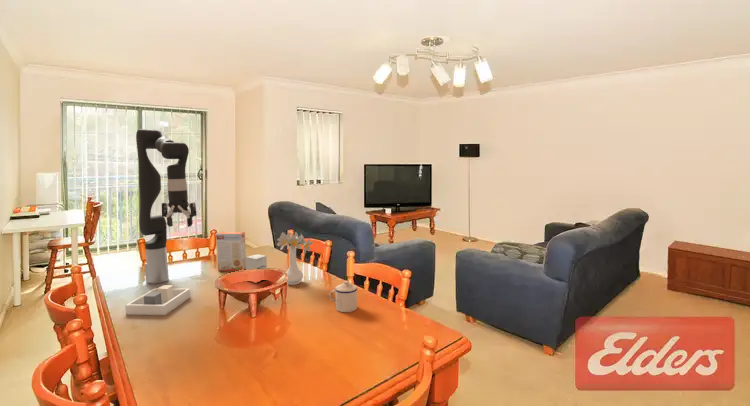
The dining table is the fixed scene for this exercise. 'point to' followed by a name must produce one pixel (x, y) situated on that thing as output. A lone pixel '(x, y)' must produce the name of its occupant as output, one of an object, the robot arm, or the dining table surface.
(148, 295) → the charcoal block
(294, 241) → the flower vase
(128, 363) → the dining table surface
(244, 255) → the cracker box
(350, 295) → the teacup with lid
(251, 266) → the supplement box
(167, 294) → the cream block
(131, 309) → the tray
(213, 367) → the dining table surface
